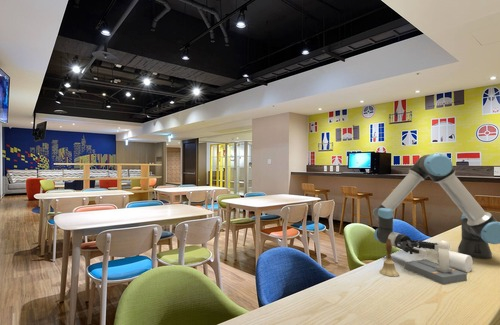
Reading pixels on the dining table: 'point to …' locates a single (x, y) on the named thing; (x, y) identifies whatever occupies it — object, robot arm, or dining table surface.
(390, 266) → the hand bell
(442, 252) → the lever
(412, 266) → the console
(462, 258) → the mug
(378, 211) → the robot arm
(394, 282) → the dining table surface
